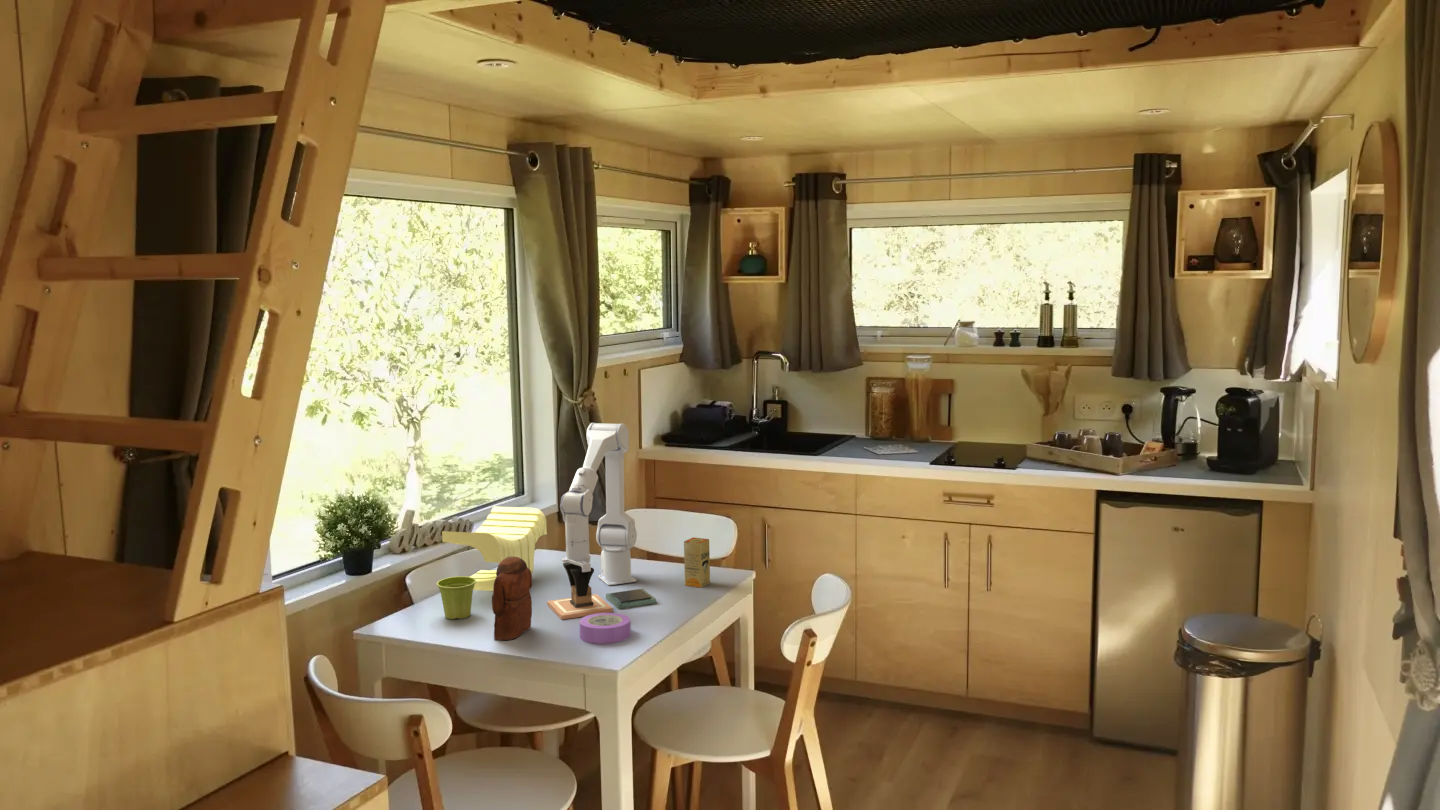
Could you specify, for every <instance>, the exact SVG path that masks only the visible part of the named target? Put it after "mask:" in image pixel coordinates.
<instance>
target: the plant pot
mask: <svg viewBox="0 0 1440 810" xmlns="http://www.w3.org/2000/svg"><path fill="white" fill-rule="evenodd" d="M475 583H476V579H475V578H472V577H470V576H468V575H467V576H449V577H446V578H443V579H442V578H441V579H440V580H438V581H437V582H436V586H437V587H438V589H439V592H440V594H441V601H442V607H443V612H444V616H445V618H446V619H448V620H455V619H460V620H463V619H466V618H468V617H470V616H471V613H472V602H473V593H474V590H473V589H474V585H475Z"/></svg>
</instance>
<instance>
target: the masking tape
mask: <svg viewBox="0 0 1440 810" xmlns="http://www.w3.org/2000/svg"><path fill="white" fill-rule="evenodd" d="M631 633H632V631H631V618H630V617H629V616H628V615H626V614H622V613H615V612H609V613H597V614H592V615H588V616H582V618H581V619H579V638H580V639H581V640H582V641H583V642H586V643H589V644H597V645H598V644H599V645H601V644H602V645H606V644H615V643H619V642H623V641H624V640H627V639H629V638H630V637H631Z"/></svg>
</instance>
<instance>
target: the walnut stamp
mask: <svg viewBox="0 0 1440 810" xmlns="http://www.w3.org/2000/svg"><path fill="white" fill-rule="evenodd" d="M570 589H571V590H570V591H571V595H570V596H571V597H570V598H572V600H570V603H571V604H572V605H573V606H574V607H575V608H579V607H586V606H593V602H592V595H593V594H592V593H593V592H592V586H590V585H589V586H588V591H587V595H586V596H581V597H578V595H577V591H576V585H573V586H570Z"/></svg>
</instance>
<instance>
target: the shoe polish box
mask: <svg viewBox="0 0 1440 810" xmlns="http://www.w3.org/2000/svg"><path fill="white" fill-rule="evenodd" d="M683 556H684V557H683V559H684V560H683V561H684V565H683V566H684V586H685V587H686V586H687V587H695V588H699V589H700V588H703V587H706V586H707V585H708V584H710V583H711V565H710V564H711V563H710V562H711V561H710V539H709V538H702V537H691V538H688V539H686V540H685V541H683Z"/></svg>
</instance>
